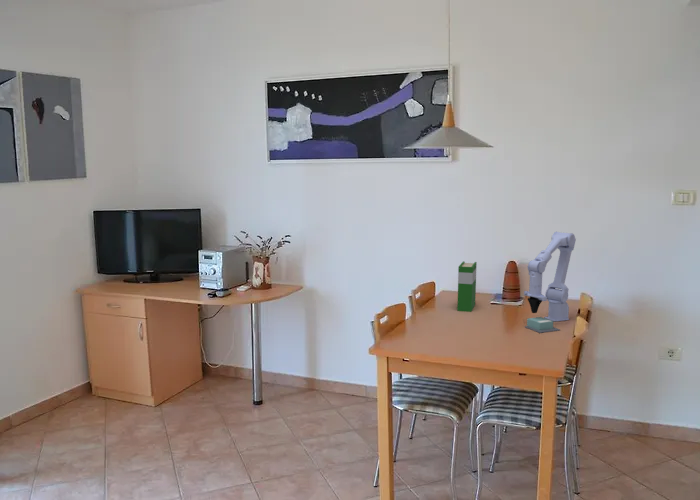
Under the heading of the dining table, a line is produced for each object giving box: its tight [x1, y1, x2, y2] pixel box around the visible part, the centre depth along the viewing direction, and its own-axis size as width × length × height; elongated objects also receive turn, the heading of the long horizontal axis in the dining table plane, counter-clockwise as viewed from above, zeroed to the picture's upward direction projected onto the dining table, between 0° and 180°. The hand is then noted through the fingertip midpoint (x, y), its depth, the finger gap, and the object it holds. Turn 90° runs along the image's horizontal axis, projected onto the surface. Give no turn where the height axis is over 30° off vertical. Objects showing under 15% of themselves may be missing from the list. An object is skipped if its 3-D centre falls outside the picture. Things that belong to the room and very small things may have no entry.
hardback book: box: [456, 261, 477, 313], centre depth 330 cm, size 18×7×24 cm, turn 162°
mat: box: [524, 325, 561, 334], centre depth 290 cm, size 12×11×1 cm
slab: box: [526, 316, 554, 330], centre depth 291 cm, size 8×4×9 cm
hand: (534, 312), depth 294 cm, fingers closed
